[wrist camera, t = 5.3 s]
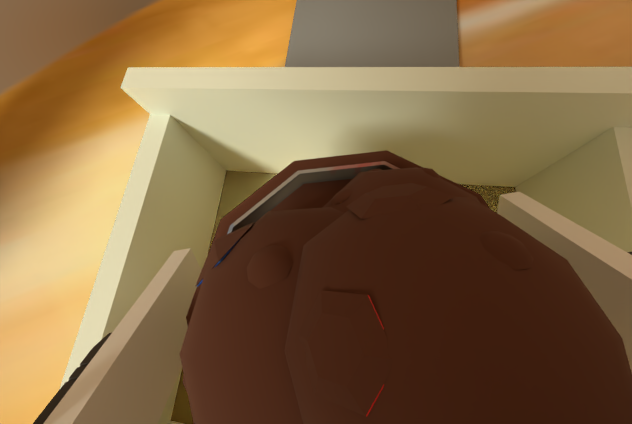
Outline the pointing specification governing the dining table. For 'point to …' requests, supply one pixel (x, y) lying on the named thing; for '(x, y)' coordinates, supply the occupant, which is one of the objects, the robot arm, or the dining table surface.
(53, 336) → the dining table surface
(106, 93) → the dining table surface
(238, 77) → the drawer
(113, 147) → the dining table surface
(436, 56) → the slate mat
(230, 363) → the ice cream bowl
